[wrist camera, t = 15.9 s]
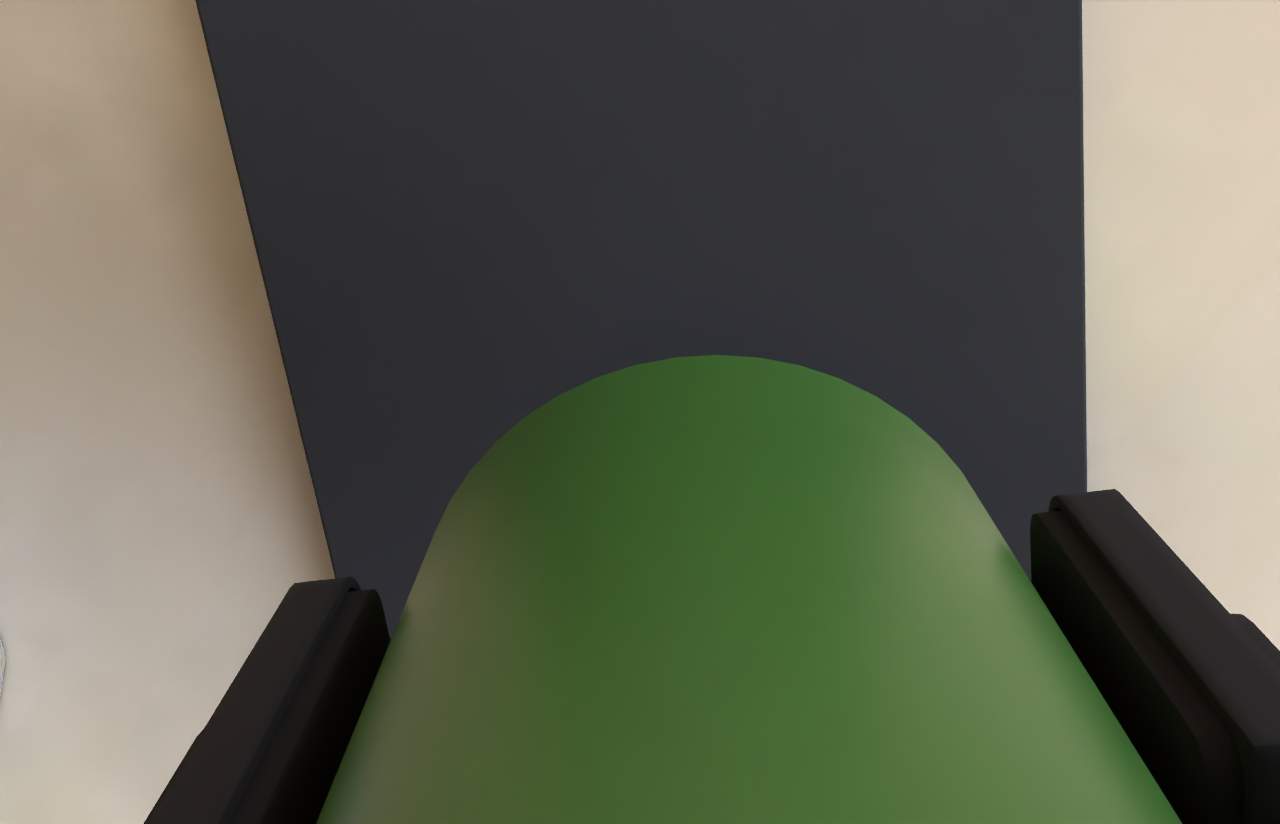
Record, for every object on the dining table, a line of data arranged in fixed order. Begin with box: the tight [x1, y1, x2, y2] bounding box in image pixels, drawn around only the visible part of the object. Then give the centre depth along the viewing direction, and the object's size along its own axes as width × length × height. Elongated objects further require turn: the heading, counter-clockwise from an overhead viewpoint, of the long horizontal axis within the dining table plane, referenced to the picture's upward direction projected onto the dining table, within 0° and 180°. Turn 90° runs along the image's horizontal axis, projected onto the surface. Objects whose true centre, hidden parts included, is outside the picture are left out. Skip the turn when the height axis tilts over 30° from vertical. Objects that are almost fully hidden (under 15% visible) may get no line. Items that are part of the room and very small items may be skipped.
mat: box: [196, 0, 1087, 640], centre depth 18 cm, size 12×20×1 cm, turn 7°
